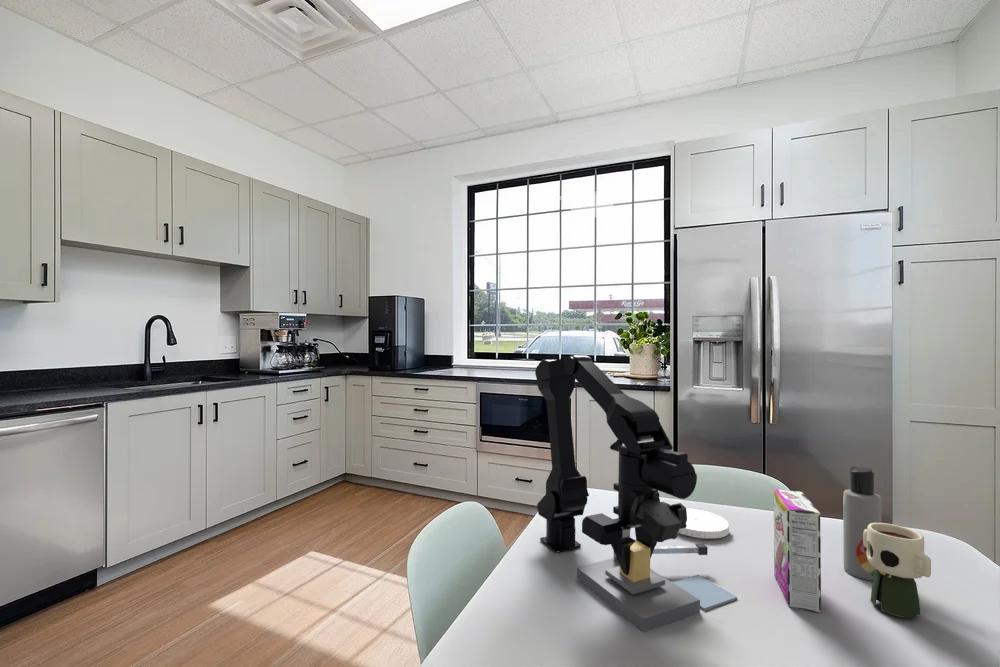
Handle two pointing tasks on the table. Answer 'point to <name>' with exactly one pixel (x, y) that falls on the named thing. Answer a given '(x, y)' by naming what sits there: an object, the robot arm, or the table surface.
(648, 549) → the plug
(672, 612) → the socket plate
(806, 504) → the candy bar box
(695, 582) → the mat
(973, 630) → the table surface
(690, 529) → the plastic lid
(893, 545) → the character mug
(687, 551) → the metal lever bar
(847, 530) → the lotion bottle
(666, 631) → the table surface
